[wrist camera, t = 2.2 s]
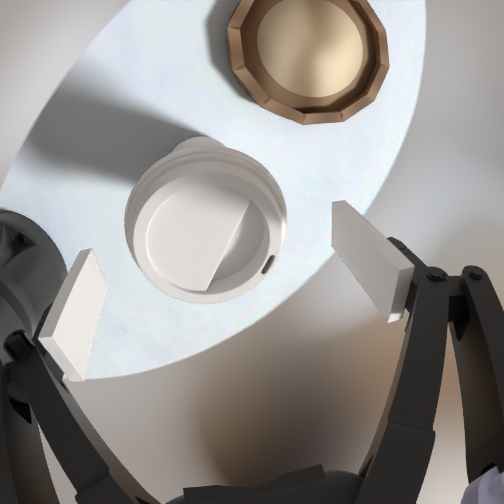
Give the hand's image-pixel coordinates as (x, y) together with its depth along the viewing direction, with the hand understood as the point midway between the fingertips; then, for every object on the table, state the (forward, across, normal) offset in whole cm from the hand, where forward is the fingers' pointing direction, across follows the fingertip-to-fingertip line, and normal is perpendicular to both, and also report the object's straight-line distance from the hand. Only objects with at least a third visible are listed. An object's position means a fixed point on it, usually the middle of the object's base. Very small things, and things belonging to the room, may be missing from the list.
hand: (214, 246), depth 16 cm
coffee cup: (+15, 0, 0) cm, 15 cm away
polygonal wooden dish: (+15, +12, +11) cm, 22 cm away
